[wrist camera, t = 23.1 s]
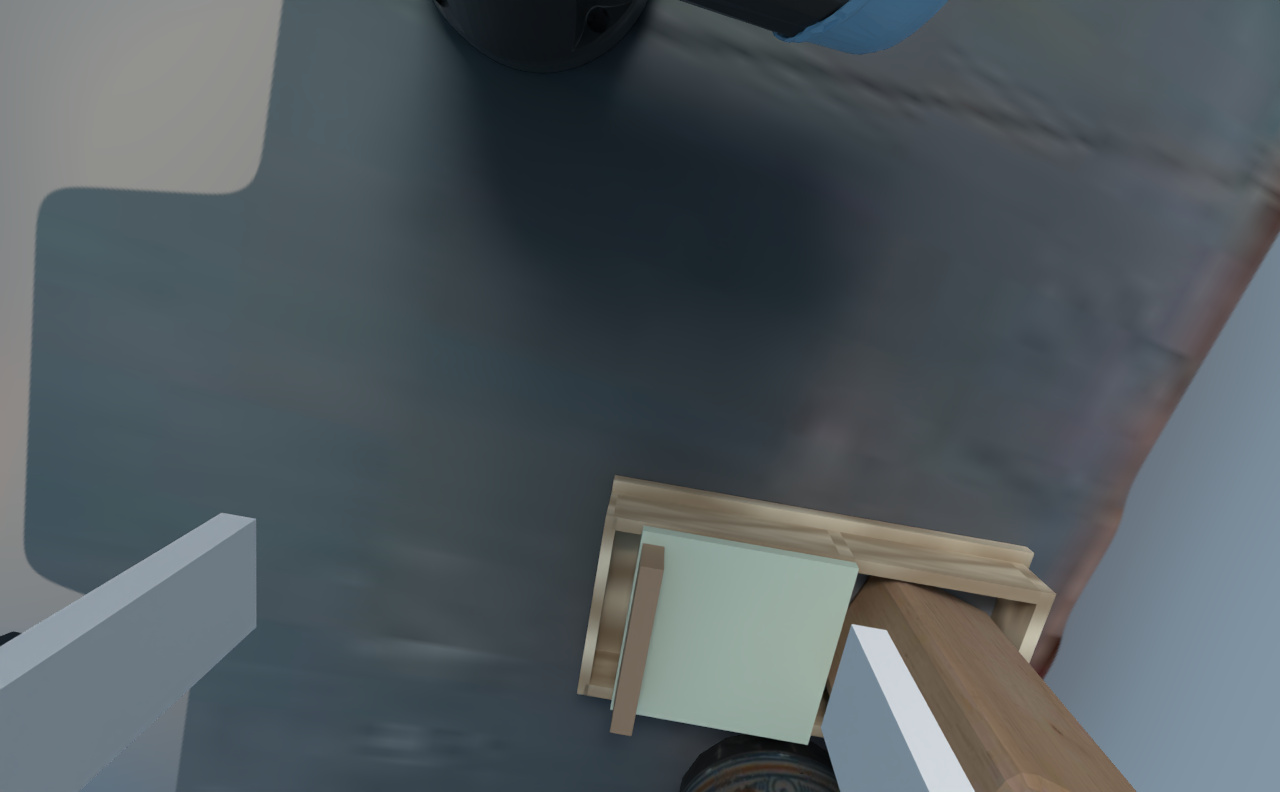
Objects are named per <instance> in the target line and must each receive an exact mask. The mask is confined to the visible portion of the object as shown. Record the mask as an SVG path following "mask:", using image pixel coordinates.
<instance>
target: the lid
mask: <svg viewBox="0 0 1280 792" xmlns="http://www.w3.org/2000/svg"><path fill="white" fill-rule="evenodd" d="M858 571H859V568H858V566H857V564H856V563H855V562H850V561H844V560H838V559H833V558H827V557H821V556H816V555H810V554H804V553H798V552H793V551H787V550H781V549H776V548H770V547H764V546H759V545H753V544H747V543H741V542H736V541H730V540H724V539H719V538H713V537H707V536H702V535H696V534H690V533H684V532H679V531H673V530H667V529H662V528H656V527H650V526H645V525H643V531H642V536H641V542H640V547H639V553H638V558H637V564H636V569H635V574H634V580H633V585H632V591H631V596H630V602H629V607H628V613H627V618H626V624H625V629H624V635H623V640H622V646H621V651H620V657H619V662H618V668H617V673H616V679H615V684H614V690H613V695H612V701H611V708H610V710H613V712H612V720H611V728H610V732H611V733H616V734H622V735H627V736H631V735H632V730H633V725H634V720H635V715H636V714H637V715H643V716H648V717H654V718H660V719H665V720H671V721H676V722H682V723H688V724H693V725H699V726H704V727H710V728H715V729H721V730H727V731H732V732H738V733H743V734H749V735H755V736H760V737H766V738H771V739H777V740H783V741H788V742H794V743H799V744H805V745H808V742H809V739H810V736H811V732H812V729H813V725H814V722H815V718H816V715H817V712H818V708H819V705H820V701H821V698H822V694H823V691H824V688H825V684H826V681H827V677H828V674H829V670H830V667H831V664H832V660H833V657H834V653H835V650H836V646H837V643H838V640H839V636H840V633H841V629H842V626H843V622H844V619H845V615H846V612H847V609H848V605H849V602H850V598H851V595H852V591H853V588H854V585H855V581H856V578H857V574H858Z"/></svg>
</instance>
